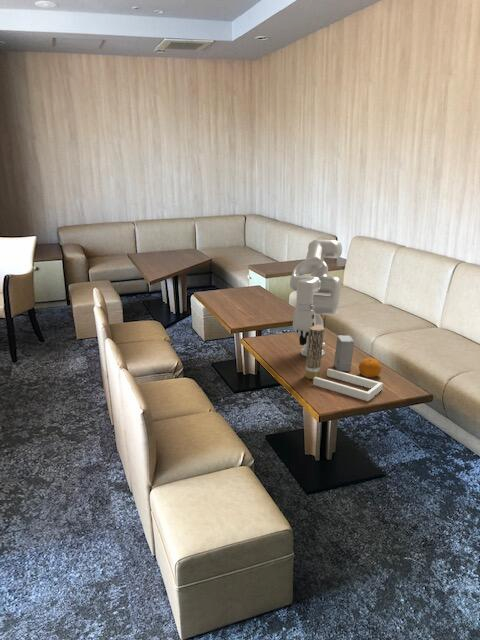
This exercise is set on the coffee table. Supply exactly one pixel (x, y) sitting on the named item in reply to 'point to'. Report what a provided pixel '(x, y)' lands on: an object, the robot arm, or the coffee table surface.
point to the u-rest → (347, 390)
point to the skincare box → (343, 353)
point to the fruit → (370, 367)
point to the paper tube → (314, 351)
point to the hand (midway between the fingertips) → (302, 344)
